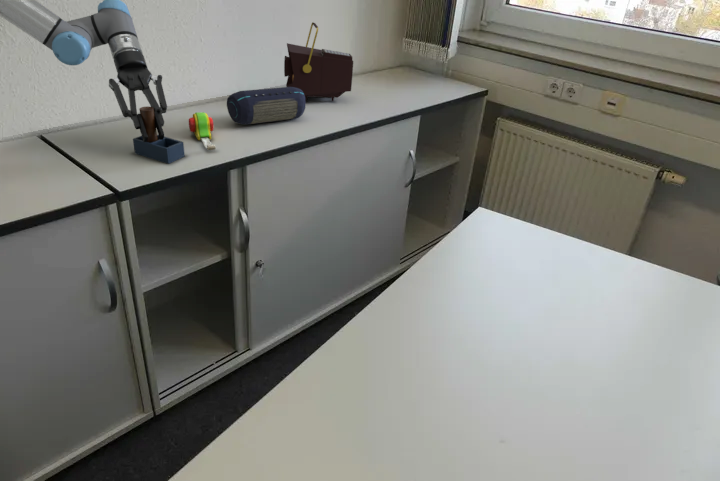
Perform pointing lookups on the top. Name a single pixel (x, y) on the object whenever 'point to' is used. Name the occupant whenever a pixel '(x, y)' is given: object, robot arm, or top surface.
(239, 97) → the portable speaker
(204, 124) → the toy measuring tape
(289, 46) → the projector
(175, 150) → the divided box
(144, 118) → the brown cylinder
